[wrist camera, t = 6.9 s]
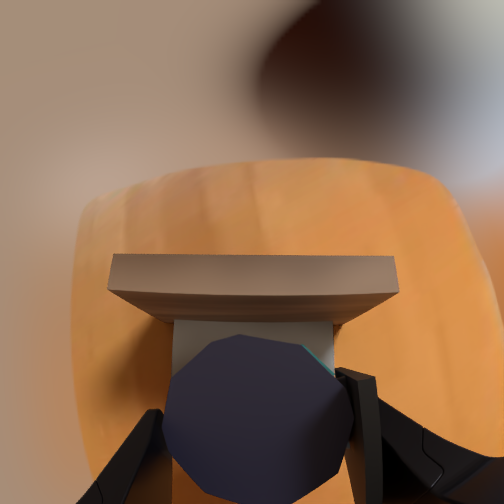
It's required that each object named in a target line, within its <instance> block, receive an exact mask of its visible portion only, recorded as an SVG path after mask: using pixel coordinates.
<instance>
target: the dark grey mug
mask: <svg viewBox="0 0 504 504" xmlns="http://www.w3.org/2000/svg"><path fill="white" fill-rule="evenodd" d="M334 370H335V374H334V373H333V372H332V371H331V370H330V369H329V368H328V367H327V366H326V365H325V364H324V363H323V362H321V361H320V360H319V359H318V358H317V357H316V356H315V355H314V354H313V353H312V352H311V351H310V350H309V349H308V348H307V347H305V346H304V345H303V344H301V345H300V344H293V343H287V342H281V341H275V340H269V339H263V338H258V337H252V336H247V335H242V334H238V335H234V336H231V337H227V338H224V339H220V340H216V341H213V342H210V343H209V344H208V345H207V346H206V347H205V348H204V349H203V350H202V351H201V352H199V353H198V354H197V355H196V356H195V357H194V358H193V359H192V360H191V361H190V362H188V363H187V364H186V365H185V366H184V367H183V368H182V369H181V370H179V371H178V372H177V373H176V374H175V375H174V376H173V377H172V378H171V381H170V386H169V391H168V396H167V401H166V407H165V412H164V417H163V423H162V430H163V434H164V437H165V441H166V444H167V447H168V451H169V453H170V454H171V455H172V457H173V458H174V459H175V460H176V461H177V463H178V464H179V465H180V466H181V467H182V468H183V470H184V471H185V472H186V473H187V474H188V475H189V476H190V477H191V478H192V480H193V481H194V482H195V483H196V484H197V485H198V486H199V487H200V488H201V489H202V490H203V491H204V492H205V493H208V494H210V495H213V496H216V497H219V498H222V499H226V500H229V501H232V502H236V503H239V504H292V503H294V502H296V501H297V500H299V499H301V498H302V497H304V496H305V495H307V494H308V493H310V492H312V491H313V490H315V489H316V488H318V487H319V486H321V485H322V484H323V483H325V482H326V481H328V480H329V479H331V478H332V477H333V476H335V475H336V474H337V473H338V472H339V469H340V466H341V463H342V460H343V457H344V456H345V460H346V464H347V469H348V473H349V478H350V483H351V487H352V492H353V497H354V502H355V504H382V502H383V464H382V441H381V426H380V414H379V404H378V395H377V386H376V379H375V377H374V376H371V375H367V374H363V373H360V372H356V371H353V370H349V369H346V368H342V367H339V368H334ZM333 375H335V377H336V378H339V377H343V376H346V380H347V384H348V388H349V392H350V396H351V401H352V406H353V411H352V407H351V404H350V400H349V397H348V393H347V390H346V388H345V387H344V386H343V385H342V384H341V383H340V382H339V381H338V380H337V379H336V378H335V377H334V376H333ZM352 425H353V426H354V452H353V450H352V448H351V446H350V443H349V441H348V440H349V436H350V433H351V429H352Z"/></svg>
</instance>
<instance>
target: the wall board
mask: <svg viewBox="0 0 504 504" xmlns="http://www.w3.org/2000/svg"><path fill="white" fill-rule="evenodd" d="M107 290H109V291H111V292H112V293H114V294H115V295H117V296H119V297H120V298H122V299H124V300H125V301H127V302H129V303H130V304H132V305H134V306H136V307H137V308H139V309H141V310H143V311H144V312H146V313H148V314H150V315H151V316H153V317H155V318H157V319H159V320H161V321H162V322H166V323H174V332H173V349H172V371H171V378H172V377H173V376H174V375H175V374H176V373H177V372H178V371H179V370H181V369H182V368H183V367H184V366H185V365H186V364H187V363H188V362H190V361H191V360H192V359H193V358H194V357H195V356H196V355H197V354H198V353H199V352H201V351H202V350H203V349H204V348H205V347H206V346H207V345H208V344H209V343H210V342H213V341H216V340H220V339H224V338H227V337H231V336H234V335H238V334H242V335H247V336H252V337H258V338H263V339H269V340H275V341H281V342H287V343H293V344H300V345H301V344H303V345H304V346H305V347H307V348H308V349H309V350H310V351H311V352H312V353H313V354H314V355H315V356H316V357H317V358H318V359H319V360H320V361H321V362H323V363H324V364H325V365H326V366H327V367H328V368H329V369H330V370H331V371H332V372H333V373H334V339H333V325H338V324H345V323H347V322H348V321H350V320H352V319H354V318H356V317H358V316H359V315H361V314H363V313H365V312H367V311H368V310H370V309H372V308H374V307H375V306H377V305H379V304H381V303H382V302H384V301H386V300H387V299H389V298H391V297H392V296H394V295H396V294H397V293H399V285H398V278H397V272H396V266H395V260H394V256H301V255H184V254H113V259H112V264H111V269H110V275H109V281H108V287H107ZM333 376H334V375H333Z"/></svg>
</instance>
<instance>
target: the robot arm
mask: <svg viewBox="0 0 504 504" xmlns="http://www.w3.org/2000/svg"><path fill="white" fill-rule="evenodd" d="M336 379H337V380H338V381H339V382H340V383H341V384H342V385H343V386H344V387H345V388H346V390H347V393H348V397H349V400H350V404H351V407H352V411H353V406H352V401H351V396H350V392H349V388H348V384H347V380H346V376H343V377H339V378H336ZM378 404H379V414H380V426H381V441H382V464H383V502H382V504H504V457H488V456H484V455H481V454H478V453H476V452H473V451H471V450H468V449H466V448H463V447H461V446H458V445H456V444H454V443H452V442H450V441H447V440H445V439H443V438H441V437H440V436H438V435H436V434H434V433H433V432H431V431H429V430H428V429H426V428H425V427H424V428H423V426H421V425H420V424H418V423H417V422H415V421H413V420H412V419H410V418H409V417H407V416H406V415H404V414H403V413H401V412H400V411H398V410H396V409H395V408H393V407H392V406H390V405H389V404H387V403H386V402H384V401H383V400H381V399H380V398H378ZM163 417H164V414H163V413H162V411H161V410H160V409H149V410H147V411H146V412H145V414H144V415H143V417H142V418H141V419H140V421H139V422H138V423H137V425H136V426H135V427H134V429H133V430H132V431H131V433H130V434H129V436H128V437H127V438H126V440H125V441H124V442H123V444H122V445H121V446H120V448H119V449H118V450H117V452H116V453H115V454H114V456H113V457H112V458H111V460H110V461H109V462H108V464H107V465H106V467H105V468H104V469H103V471H102V472H101V473H100V475H99V476H98V477H97V479H96V480H97V481H96V480H95V481H94V482H93V484H92V485H91V487H90V488H89V489H88V490H87V491H86V493H85V494H84V495H83V497H81V499H80V500H79V501H78V502H77V503H76V504H172V455H171V454H170V453H169V451H168V447H167V444H166V441H165V437H164V434H163V430H162V423H163ZM348 441H349V443H350V446H351V448H352V450H353V452H354V426H353V425H352V429H351V433H350V436H349V440H348Z"/></svg>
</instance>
